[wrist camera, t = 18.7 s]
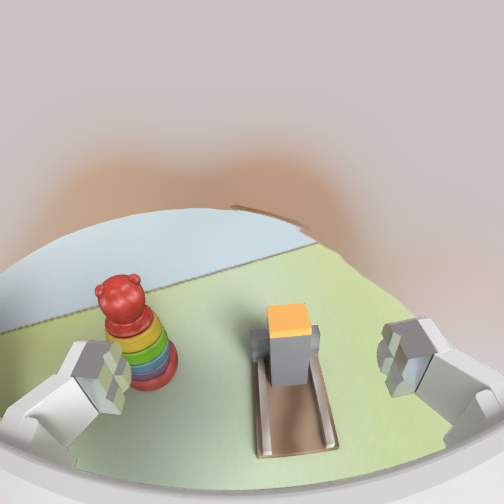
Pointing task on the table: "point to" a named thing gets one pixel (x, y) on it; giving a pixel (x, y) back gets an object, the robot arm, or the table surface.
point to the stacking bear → (137, 332)
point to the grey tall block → (289, 344)
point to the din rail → (291, 406)
